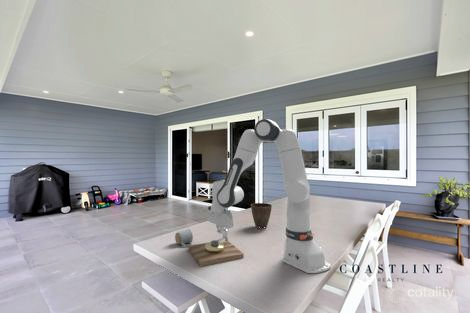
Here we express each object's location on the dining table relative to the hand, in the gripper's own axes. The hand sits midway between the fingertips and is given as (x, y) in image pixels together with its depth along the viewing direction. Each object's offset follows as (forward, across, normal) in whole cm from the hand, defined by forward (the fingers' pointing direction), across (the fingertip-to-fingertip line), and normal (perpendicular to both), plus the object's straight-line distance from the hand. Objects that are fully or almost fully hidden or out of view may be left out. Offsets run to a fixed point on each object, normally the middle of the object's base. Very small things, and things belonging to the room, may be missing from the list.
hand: (220, 232), depth 128 cm
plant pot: (+7, +9, -43) cm, 45 cm away
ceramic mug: (+7, +15, +14) cm, 22 cm away
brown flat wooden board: (+7, -7, +9) cm, 13 cm away
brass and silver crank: (+5, -7, +6) cm, 10 cm away
